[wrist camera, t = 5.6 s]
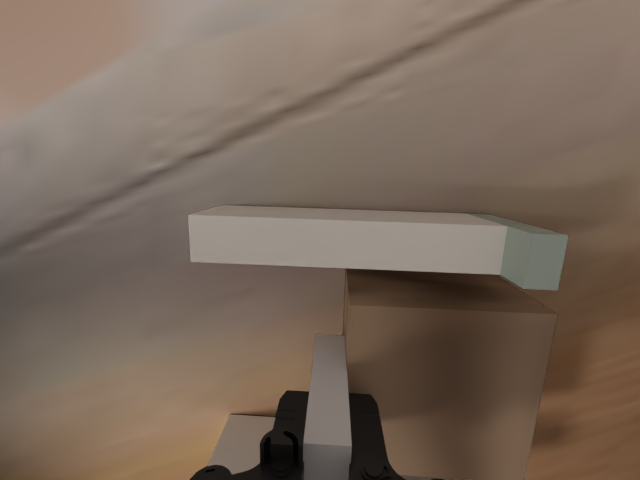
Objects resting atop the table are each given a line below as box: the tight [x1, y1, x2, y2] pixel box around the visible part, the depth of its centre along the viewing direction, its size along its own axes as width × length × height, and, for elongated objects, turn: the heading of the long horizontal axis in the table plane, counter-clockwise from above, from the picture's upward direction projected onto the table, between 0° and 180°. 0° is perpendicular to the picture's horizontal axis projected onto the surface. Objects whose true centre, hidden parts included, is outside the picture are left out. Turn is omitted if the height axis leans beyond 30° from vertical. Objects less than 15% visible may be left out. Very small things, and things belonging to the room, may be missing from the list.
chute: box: [188, 205, 569, 480], centre depth 15 cm, size 14×15×6 cm
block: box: [342, 268, 558, 480], centre depth 15 cm, size 8×8×5 cm
